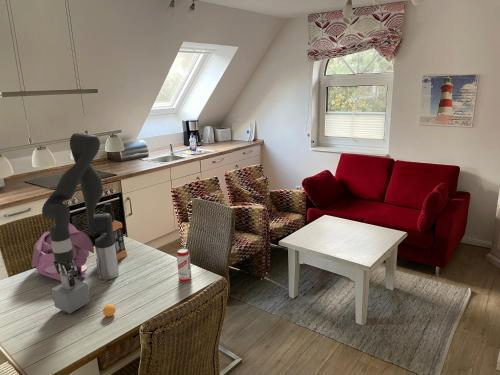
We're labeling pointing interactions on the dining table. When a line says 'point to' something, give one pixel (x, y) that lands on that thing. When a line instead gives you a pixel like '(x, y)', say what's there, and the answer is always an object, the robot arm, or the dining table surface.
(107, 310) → the ball
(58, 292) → the grey stepped block
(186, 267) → the beer can
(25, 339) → the dining table surface
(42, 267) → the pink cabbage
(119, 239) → the whiskey bottle
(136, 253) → the dining table surface
